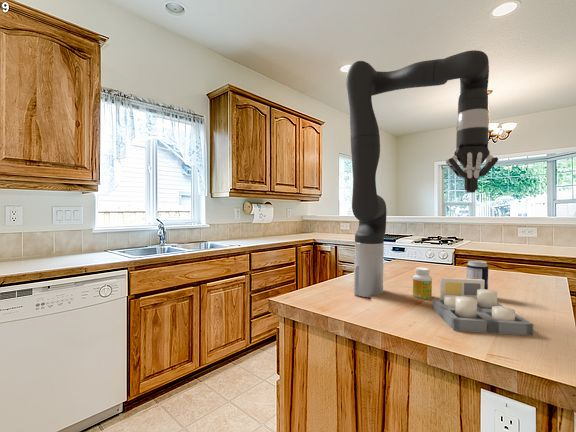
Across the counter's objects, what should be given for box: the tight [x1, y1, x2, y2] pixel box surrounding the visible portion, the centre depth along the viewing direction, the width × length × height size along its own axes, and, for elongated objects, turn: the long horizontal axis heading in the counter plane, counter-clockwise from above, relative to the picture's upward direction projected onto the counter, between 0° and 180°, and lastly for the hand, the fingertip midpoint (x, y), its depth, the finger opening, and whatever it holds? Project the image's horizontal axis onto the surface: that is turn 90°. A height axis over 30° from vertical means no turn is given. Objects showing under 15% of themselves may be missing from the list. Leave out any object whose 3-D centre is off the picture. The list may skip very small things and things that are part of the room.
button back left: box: [444, 295, 457, 307], centre depth 80 cm, size 4×4×4 cm
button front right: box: [492, 305, 516, 321], centre depth 71 cm, size 4×4×4 cm
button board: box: [432, 277, 534, 336], centre depth 76 cm, size 16×18×9 cm
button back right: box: [477, 289, 498, 309], centre depth 79 cm, size 4×4×4 cm
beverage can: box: [466, 259, 489, 290], centre depth 96 cm, size 6×6×12 cm
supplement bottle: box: [412, 267, 433, 300], centre depth 96 cm, size 5×5×10 cm
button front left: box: [455, 296, 477, 319], centre depth 72 cm, size 4×4×4 cm
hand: (470, 192), depth 84 cm, fingers closed
